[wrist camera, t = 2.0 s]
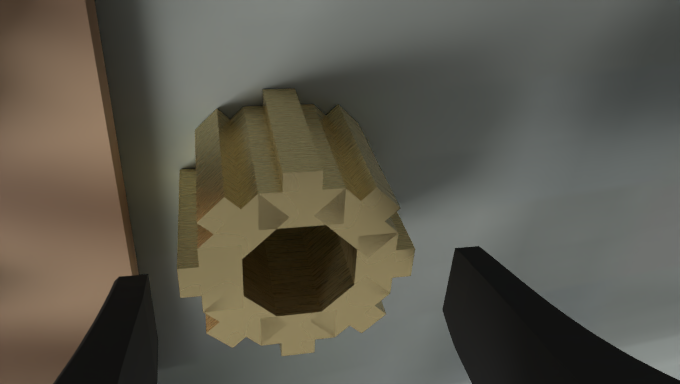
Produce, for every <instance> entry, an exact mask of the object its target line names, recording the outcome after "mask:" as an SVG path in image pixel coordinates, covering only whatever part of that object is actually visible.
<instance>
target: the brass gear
mask: <svg viewBox="0 0 680 384" xmlns="http://www.w3.org/2000/svg"><path fill="white" fill-rule="evenodd" d="M195 153H196V169H183V170H180V180H179V216H178V253H177V273H178V282H179V290H180V298H185V297H195V296H202V305H203V312H204V313H205V314H206V333H207V334H208V335H210V336H212V337H214V338H216V339H217V340H219V341H221V342H223V343H225V344H226V345H228V346H230V347H232V348H233V347H235V346H236V345H237V344H238V343H239V342H241V341H242V340H243V339H244V338H245V337H247V338H249V339H251V340H252V341H254V342H256V343H258V344H259V345H261V346H262V345H271V344H279V343H280V349H281V356H288V355H296V354H305V353H313V352H314V350H315V339H324V338H332V337H336V336H337V335H338V334H340V333H341V332H342V331H343V330H345V329H346V328H347V327H348V326H351V327H353V328H354V329H356V330H357V331H359V332H360V333H363V332H364V331H365V330H366V329H368V328H369V327H370V326H372V325H373V324H374V323H375V322H377V321H378V320H379V319H380V318H382V317H383V316H384V315H386V312H385V310H384V307H383V304H382V302H381V300H382V299H384V298H385V297H386V296H387V295H389V294H390V290H391V283H392V278H395V277H405V276H411V271H412V265H413V258H414V252H415V248H414V246H413V244H412V241H411V239H410V237H409V235H408V233H407V231H406V229H405V227H404V225H403V223H402V221H401V219H400V217H399V215H398V213H397V211H398V210H399V209H400V206H399V204H398V202H397V200H396V198H395V196H394V194H393V192H392V190H391V188H390V186H389V184H388V182H387V180H386V178H385V176H384V174H383V172H382V170H381V168H380V166H379V164H378V162H377V160H376V158H375V156H374V154H373V152H372V150H371V148H370V146H369V144H368V142H367V140H366V138H365V136H364V134H363V132H362V130H361V128H360V126H359V124H358V123H357V122H356V121H355V120H354V119H353V118H352V117H351V116H350V115H349V114H348V113H347V112H346V111H345V110H344V109H343V108H342V107H341V106H340V105H337V106H336V107H335V108H334V109H332V110H331V111H330V112H329V113H328V114H327V115H326V116H325V115H324V114H323V113H322V112H321V111H320V110H319V109H318V108H317V107H316V106H315V105H314V104H302V105H300V102H299V99H298V97H297V94H296V91H295V89H263V106H245V107H243V108H242V109H240V110H239V111H238V112H237V113H236V114H235V115H234V116H233V117H232V118H231V119H229V118H228V117H227V116H225V115H224V114H223V113H222V112H221V111H219V110H218V109H216V110H215V111H214V112H213V113H212V114H211V115H210V116H209V117H208V118H207V119H206V120H205V121H204V122H203V123H202V124H201V125H200V126H199V127H198V128H196V129H195Z"/></svg>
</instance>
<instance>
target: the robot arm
mask: <svg viewBox="0 0 680 384" xmlns="http://www.w3.org/2000/svg"><path fill="white" fill-rule="evenodd" d="M443 313H444V316H445V319H446V322H447V326H448V329H449V332H450V335H451V338H452V341H453V343H454V346H455V349H456V351H457V353H458V355H459V357H460V359H461V361H462V364H463V366H464V368H465V370H466V372H467V374H468V376H469V378H470V380H471V382H472V384H680V380H677V379H675V378H673V377H671V376H669V375H667V374H665V373H663V372H661V371H659V370H657V369H655V368H653V367H651V366H649V365H647V364H645V363H643V362H641V361H639V360H637V359H636V358H634V357H632V356H630V355H628V354H627V353H625V352H623V351H621V350H620V349H618V348H616V347H615V346H613V345H611V344H610V343H608V342H606V341H605V340H603V339H601V338H600V337H598V336H596V335H595V334H593V333H592V332H590V331H589V330H587V329H586V328H584V327H583V326H581V325H580V324H578V323H577V322H575V321H574V320H573V319H571V318H570V317H568V316H567V315H565V314H564V313H563V312H561V311H560V310H558V309H557V308H556V307H554V306H553V305H552V304H550V303H549V302H548V301H546V300H545V299H544V298H542V297H541V296H540V295H539V294H537V293H536V292H535V291H534V290H532V289H531V288H530V287H528V286H527V285H526V284H525V283H523V282H522V281H521V280H520V279H519V278H517V277H516V276H515V275H514V274H512V273H511V272H510V271H509V270H508V269H506V268H505V267H504V266H503V265H501V264H500V263H499V262H498V261H497V260H495V259H494V258H493V257H492V256H490V255H489V254H488V253H487V252H485V251H484V250H483V249H482V248H480V247H479V246H476V247H464V248H455V252H454V257H453V261H452V266H451V271H450V276H449V281H448V286H447V291H446V295H445V300H444V305H443ZM157 365H158V337H157V330H156V324H155V317H154V311H153V304H152V298H151V291H150V284H149V278H148V274H144V275H132V276H120V277H118V278H117V279H116V280H115V281H114V283H113V285H112V288H111V290H110V292H109V294H108V296H107V298H106V300H105V302H104V304H103V306H102V307H101V309H100V311H99V313H98V315H97V316H96V318H95V320H94V322H93V324H92V325H91V327H90V328H89V330H88V332H87V333H86V335H85V337H84V338H83V340H82V342H81V343H80V345H79V346H78V348H77V350H76V351H75V353H74V354H73V356H72V357H71V359H70V360H69V361H68V363H67V364H66V366H65V367H64V369H63V370H62V372H61V373H60V374H59V376H58V377H57V379H56V380H55V382H54V383H53V384H157Z"/></svg>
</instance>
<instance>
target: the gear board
mask: <svg viewBox="0 0 680 384" xmlns="http://www.w3.org/2000/svg"><path fill="white" fill-rule="evenodd" d="M132 275H139V272H138V266H137V260H136V253H135V247H134V241H133V235H132V229H131V223H130V216H129V210H128V204H127V198H126V192H125V186H124V179H123V173H122V167H121V161H120V155H119V149H118V142H117V136H116V130H115V124H114V118H113V112H112V106H111V99H110V93H109V87H108V81H107V75H106V69H105V62H104V56H103V50H102V44H101V38H100V32H99V25H98V19H97V13H96V7H95V1H94V0H0V384H53V383H54V382H55V380H56V379H57V377H58V376H59V374H60V373H61V372H62V370H63V369H64V367H65V366H66V364H67V363H68V361H69V360H70V359H71V357H72V356H73V354H74V353H75V351H76V350H77V348H78V346H79V345H80V343H81V342H82V340H83V338H84V337H85V335H86V333H87V332H88V330H89V328H90V327H91V325H92V324H93V322H94V320H95V318H96V316H97V315H98V313H99V311H100V309H101V307H102V306H103V304H104V302H105V300H106V298H107V296H108V294H109V292H110V290H111V288H112V285H113V283H114V281H115V280H116V279H117V278H118V277H120V276H132Z"/></svg>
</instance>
